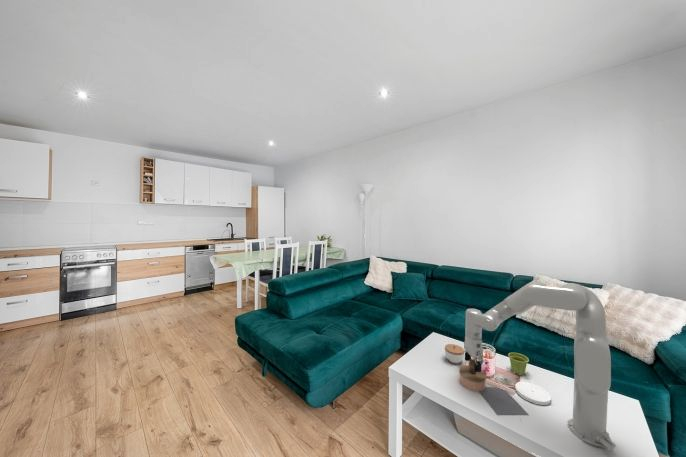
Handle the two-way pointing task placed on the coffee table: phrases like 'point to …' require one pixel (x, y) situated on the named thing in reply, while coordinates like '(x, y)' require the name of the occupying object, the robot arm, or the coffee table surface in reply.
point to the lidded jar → (454, 353)
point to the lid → (472, 372)
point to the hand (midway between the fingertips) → (472, 365)
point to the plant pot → (518, 363)
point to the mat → (502, 402)
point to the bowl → (472, 384)
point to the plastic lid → (533, 393)
